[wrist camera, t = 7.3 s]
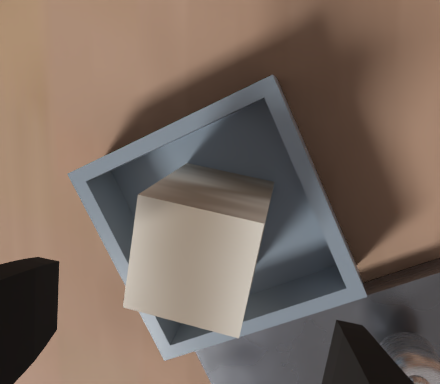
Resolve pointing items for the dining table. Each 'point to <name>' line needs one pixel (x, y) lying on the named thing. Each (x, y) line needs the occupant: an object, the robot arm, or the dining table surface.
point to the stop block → (197, 247)
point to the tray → (276, 218)
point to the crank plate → (330, 331)
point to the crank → (414, 356)
